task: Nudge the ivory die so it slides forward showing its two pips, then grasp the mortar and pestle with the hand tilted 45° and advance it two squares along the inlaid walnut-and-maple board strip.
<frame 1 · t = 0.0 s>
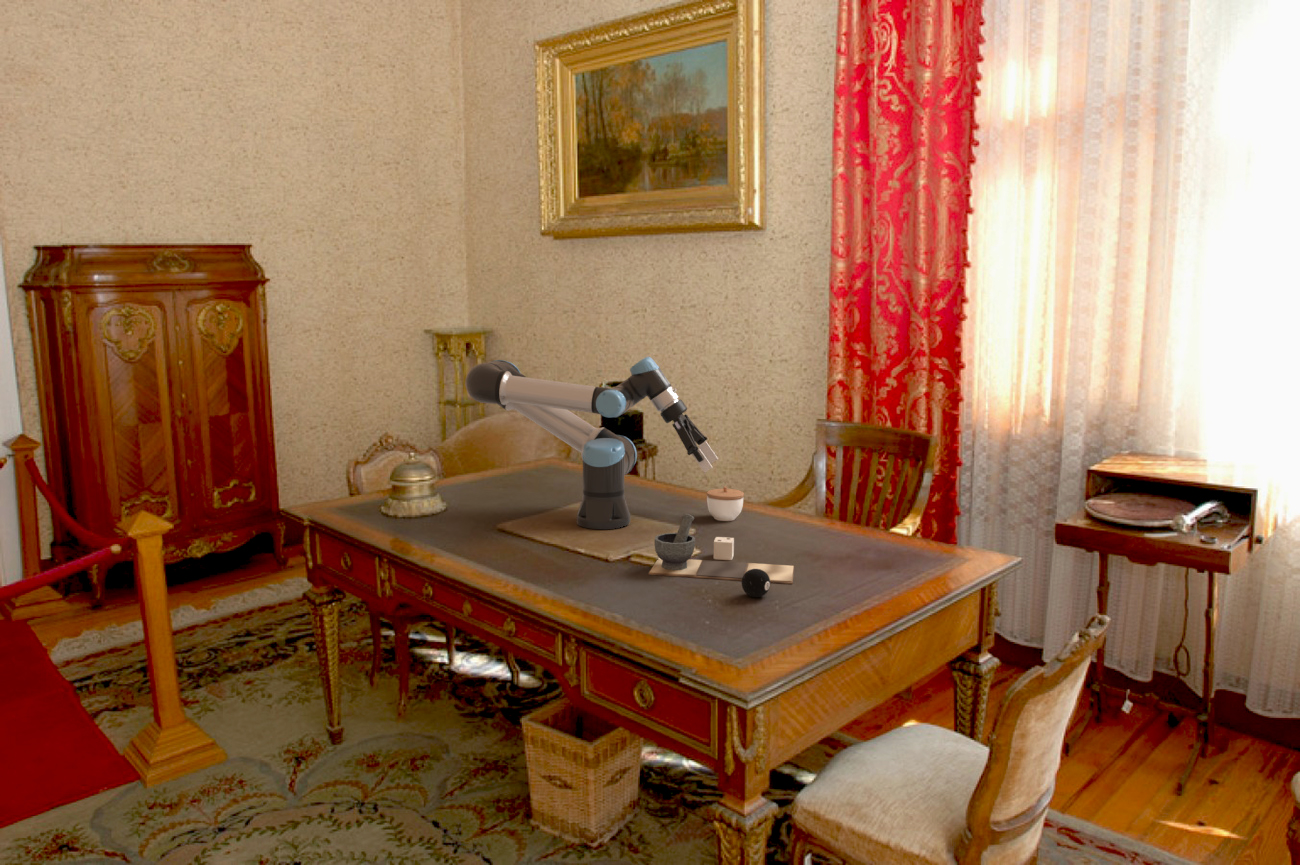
hand: (711, 465, 261), 15 cm above the table, tool tilted 35°, fingers open, 13 cm apart
lidded jar: (724, 519, 262), on the table
die: (723, 557, 224), on the table
board: (722, 570, 212), on the table
mortar and pestle: (676, 566, 214), resting on board
billiard ball: (755, 597, 195), on the table
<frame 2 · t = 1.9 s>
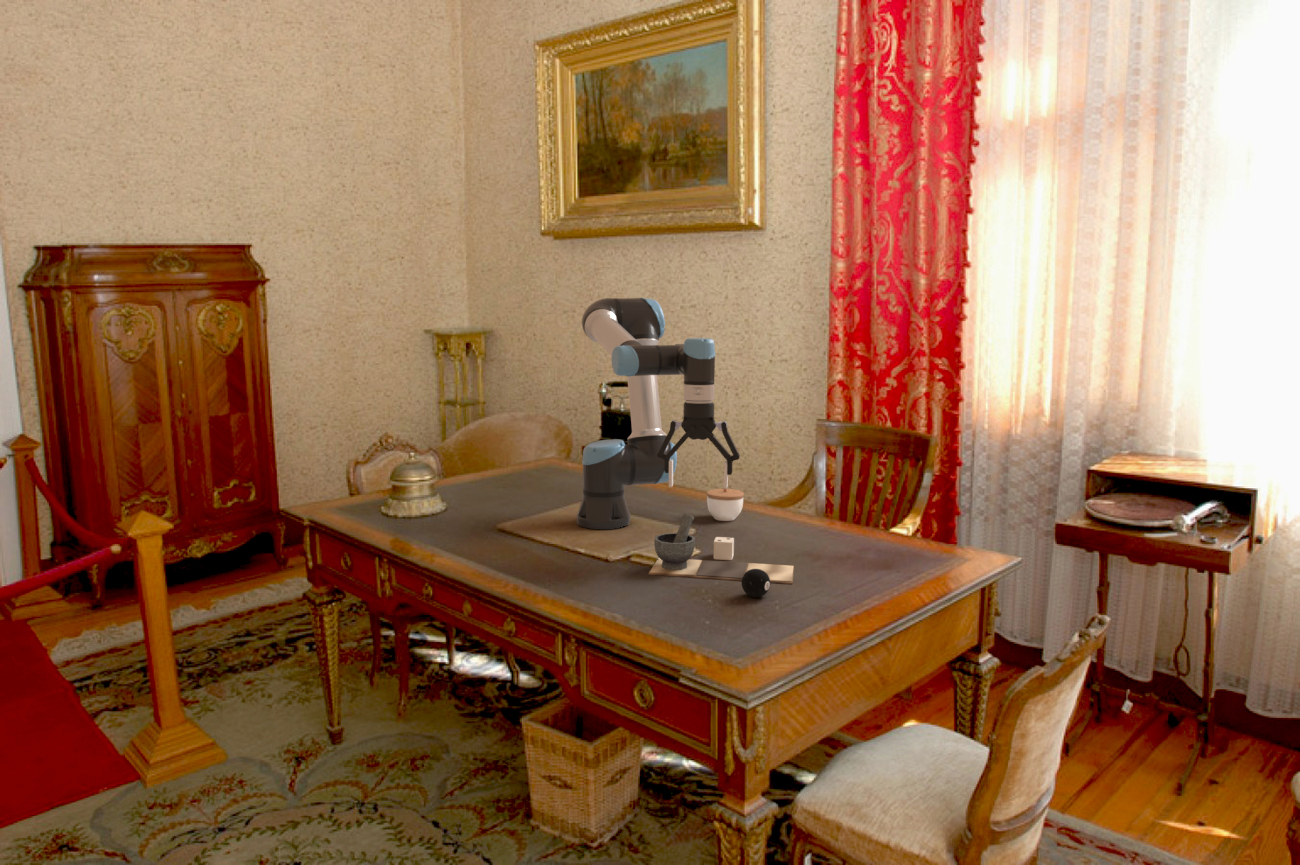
hand: (698, 487, 224), 17 cm above the table, tool pointing down, fingers open, 13 cm apart
nothing on the table moved.
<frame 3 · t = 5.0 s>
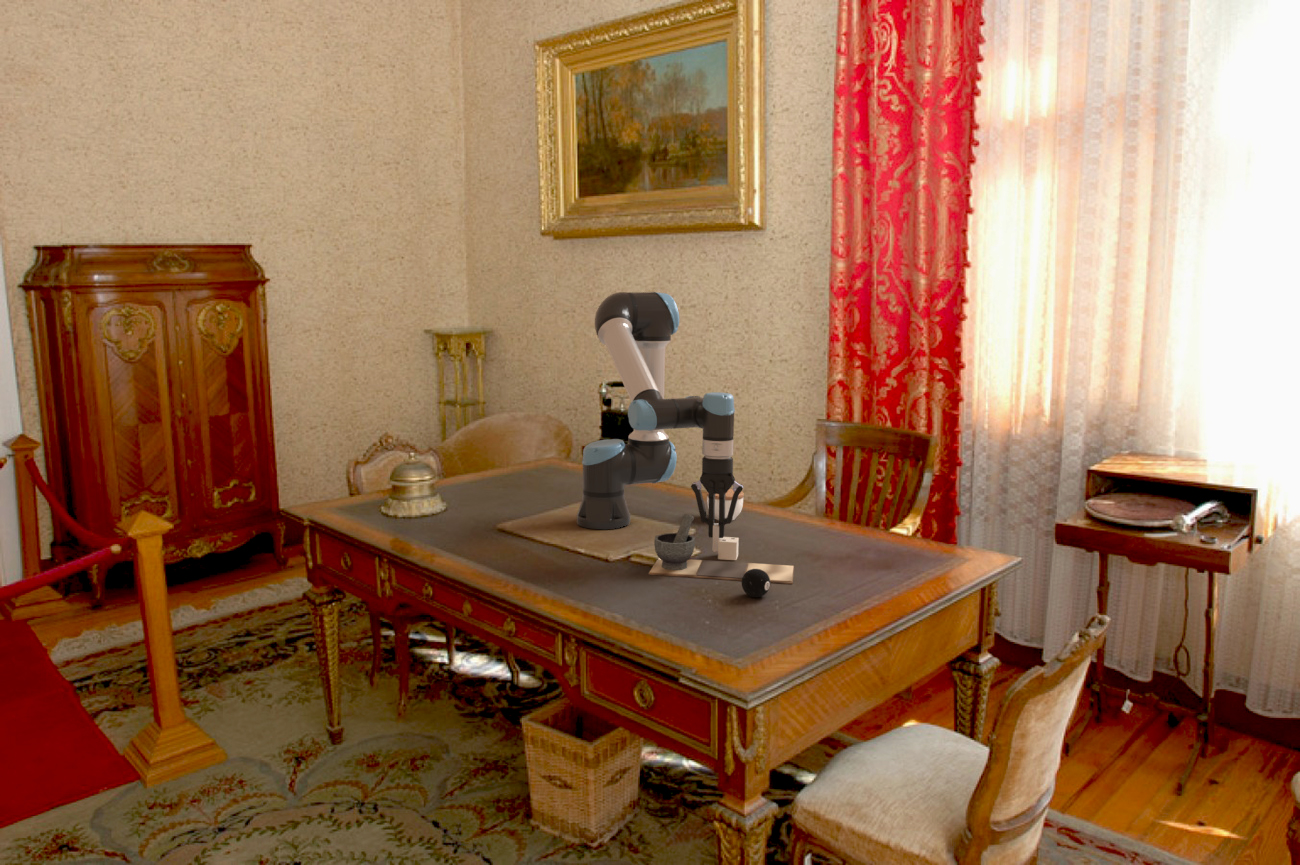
hand: (716, 550, 224), 2 cm above the table, tool pointing down, fingers closed
die: (728, 557, 224), on the table, touching gripper
everything else where it was.
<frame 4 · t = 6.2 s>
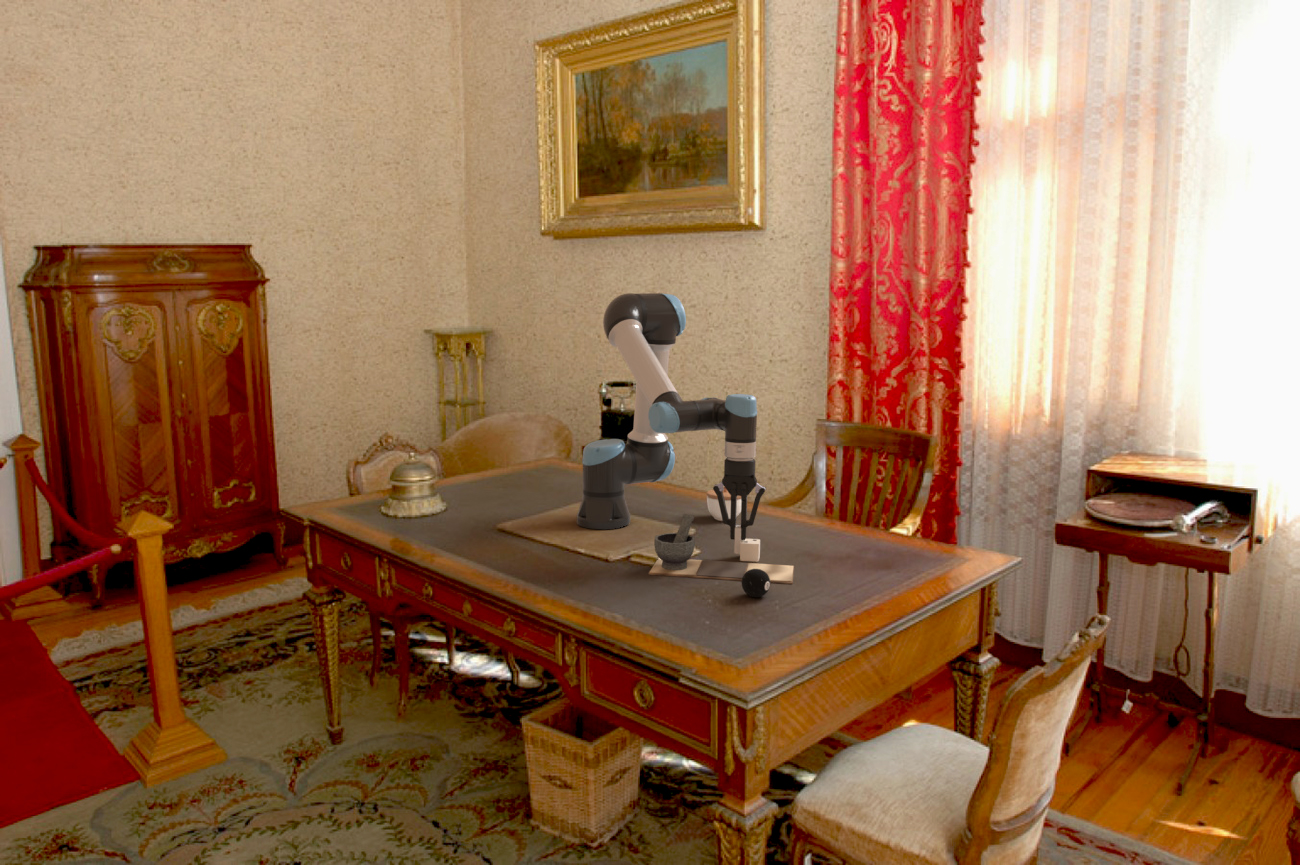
hand: (737, 552, 223), 1 cm above the table, tool pointing down, fingers closed
die: (749, 558, 223), on the table
everything else where it was.
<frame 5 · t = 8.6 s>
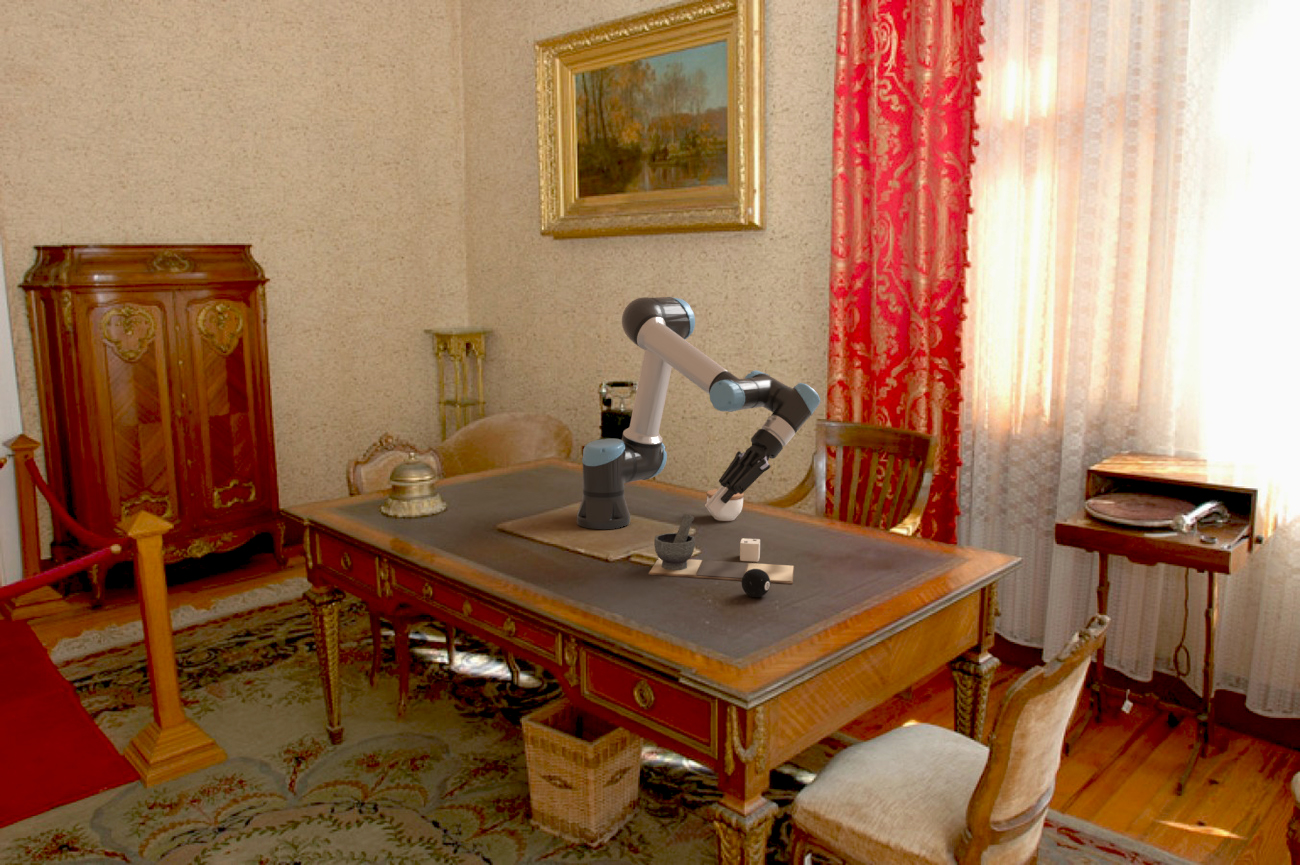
hand: (710, 510, 216), 13 cm above the table, tool tilted 45°, fingers closed
nothing on the table moved.
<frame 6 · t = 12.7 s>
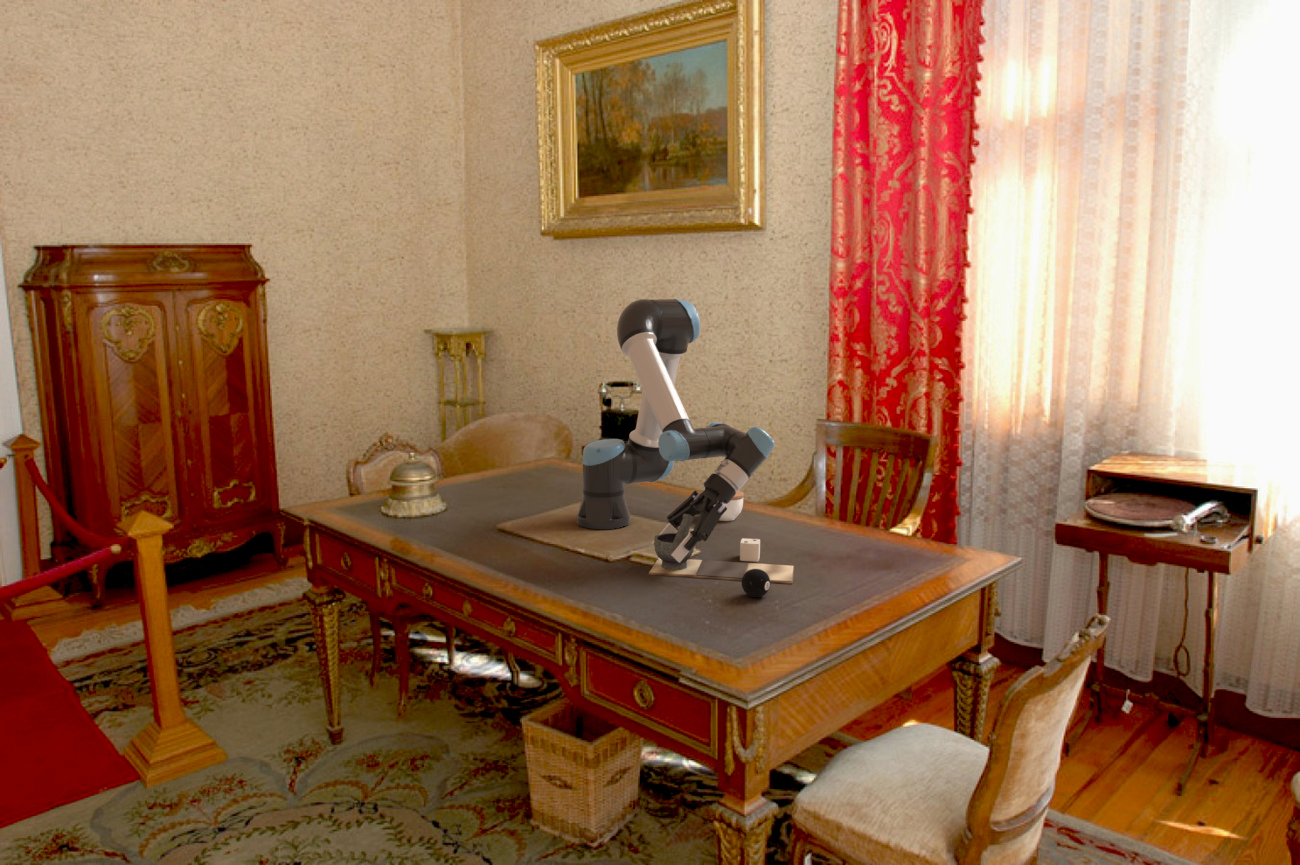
hand: (665, 552, 213), 4 cm above the table, tool tilted 45°, fingers open, 10 cm apart
mortar and pestle: (676, 566, 214), resting on board, touching gripper
everything else where it was.
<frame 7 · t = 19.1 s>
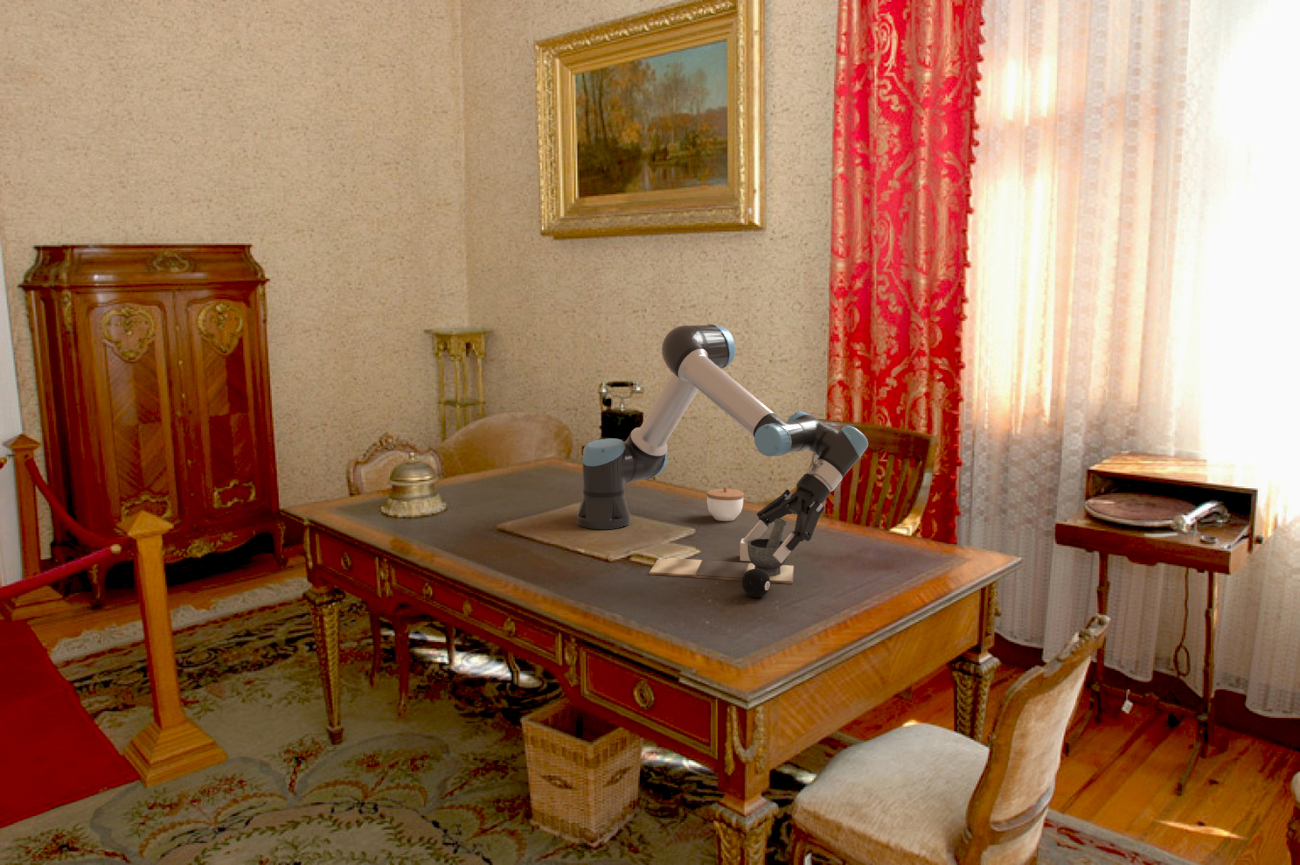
hand: (761, 551, 209), 6 cm above the table, tool tilted 45°, fingers open, 13 cm apart
mortar and pestle: (769, 572, 210), resting on board
everything else where it was.
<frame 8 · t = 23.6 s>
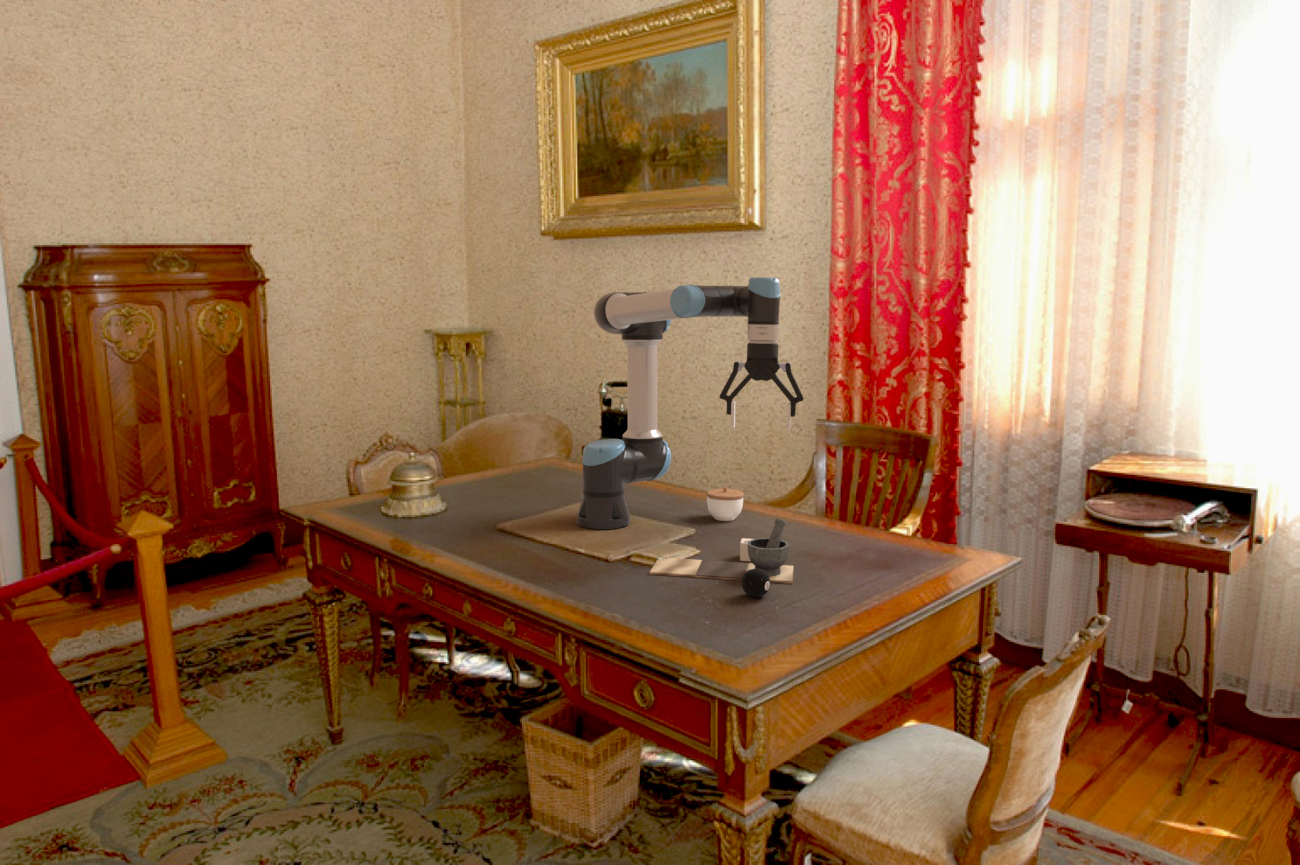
hand: (760, 429, 221), 32 cm above the table, tool pointing down, fingers open, 13 cm apart
nothing on the table moved.
at the end: mortar and pestle inside the target area (0.1 cm from its centre), resting on board; mortar and pestle tilted 0°; die moved 6.5 cm from its start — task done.
